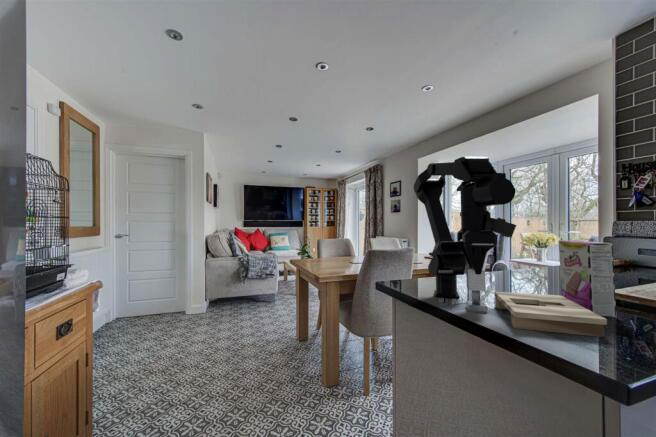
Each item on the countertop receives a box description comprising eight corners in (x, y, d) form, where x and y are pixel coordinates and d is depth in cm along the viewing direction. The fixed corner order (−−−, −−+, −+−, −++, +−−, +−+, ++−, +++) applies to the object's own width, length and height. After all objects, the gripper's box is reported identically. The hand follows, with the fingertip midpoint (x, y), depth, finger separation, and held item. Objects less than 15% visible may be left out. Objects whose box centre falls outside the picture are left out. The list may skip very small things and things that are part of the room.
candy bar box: (559, 303, 72) (557, 240, 73) (582, 304, 71) (579, 240, 72) (591, 317, 61) (588, 242, 62) (618, 318, 60) (614, 242, 61)
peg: (466, 306, 70) (465, 267, 70) (484, 308, 69) (483, 267, 69) (468, 311, 66) (467, 269, 67) (487, 312, 65) (486, 270, 65)
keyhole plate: (494, 305, 71) (494, 291, 71) (561, 310, 66) (561, 295, 66) (515, 330, 54) (515, 311, 54) (607, 339, 49) (606, 319, 50)
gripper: (524, 203, 57) (526, 280, 57) (501, 208, 74) (503, 267, 74) (464, 205, 61) (466, 277, 60) (456, 209, 78) (457, 265, 78)
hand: (475, 271), depth 68 cm, fingers open, 9 cm apart
